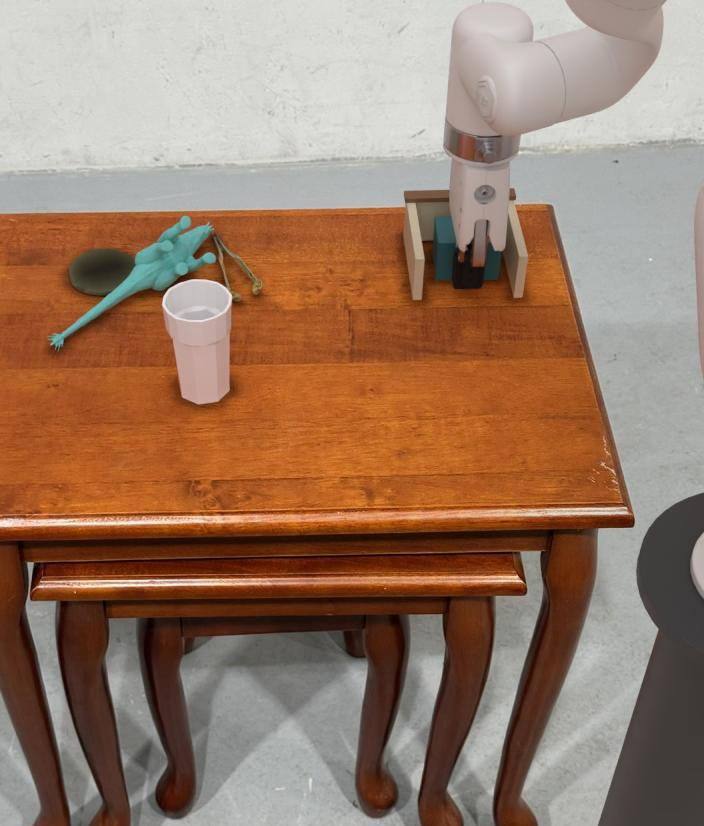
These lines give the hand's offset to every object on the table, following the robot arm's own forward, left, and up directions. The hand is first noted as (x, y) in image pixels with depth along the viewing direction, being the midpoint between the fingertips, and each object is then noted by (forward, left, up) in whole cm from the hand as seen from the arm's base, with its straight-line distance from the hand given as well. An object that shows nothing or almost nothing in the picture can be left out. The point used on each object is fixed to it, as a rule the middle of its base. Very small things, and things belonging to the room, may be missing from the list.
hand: (466, 284), depth 139 cm
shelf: (+3, -4, -1) cm, 5 cm away
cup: (+11, +30, -2) cm, 32 cm away
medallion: (+33, +23, 0) cm, 40 cm away
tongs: (+23, +14, -2) cm, 27 cm away
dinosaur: (+23, +24, +4) cm, 33 cm away
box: (+3, -4, -1) cm, 5 cm away
